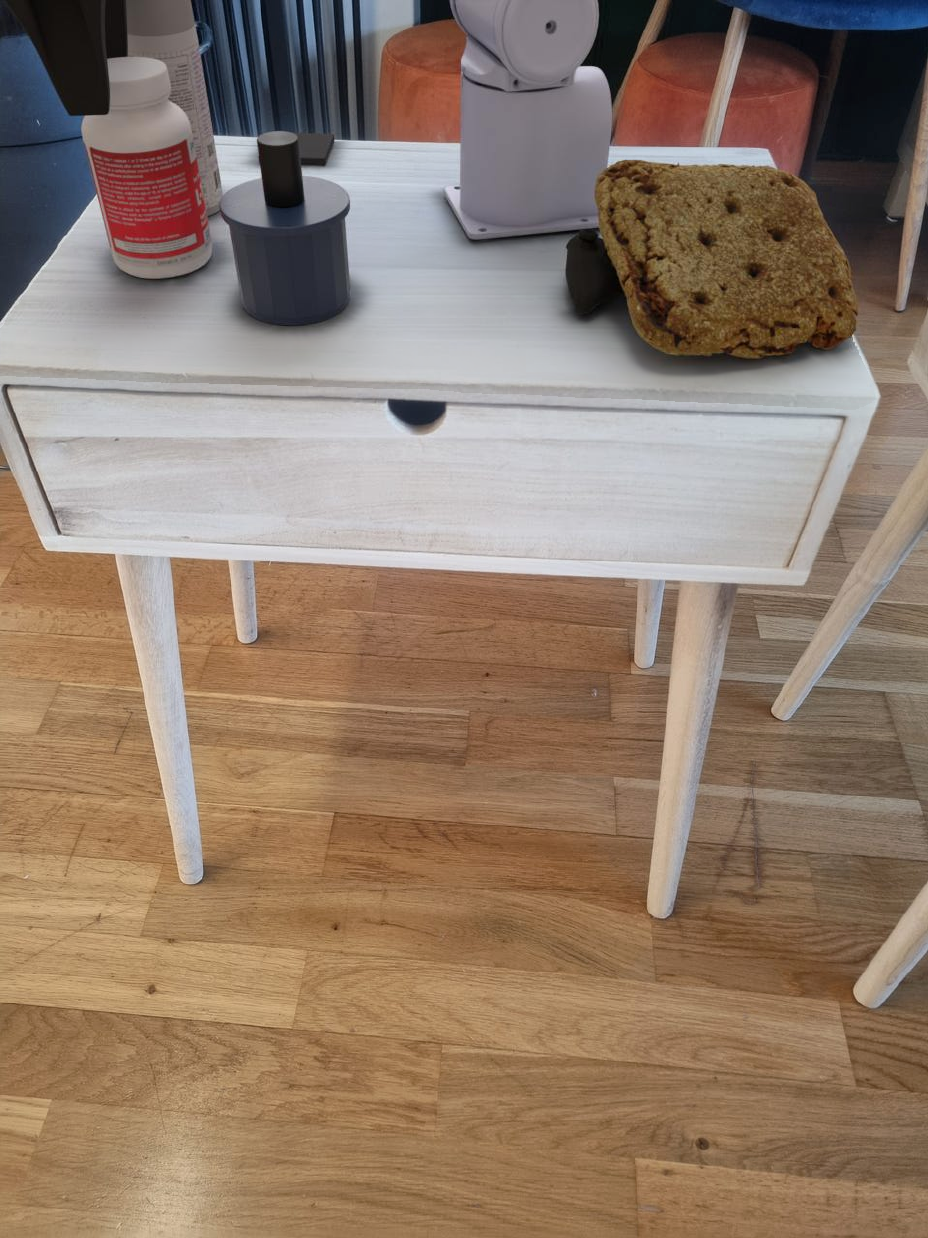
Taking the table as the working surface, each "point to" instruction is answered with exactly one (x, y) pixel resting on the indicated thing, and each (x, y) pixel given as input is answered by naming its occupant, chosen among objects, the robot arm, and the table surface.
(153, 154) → the pill bottle
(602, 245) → the gaming controller
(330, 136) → the coaster
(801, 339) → the pastry
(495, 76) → the robot arm
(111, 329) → the table surface
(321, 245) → the tin
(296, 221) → the lid
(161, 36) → the container
